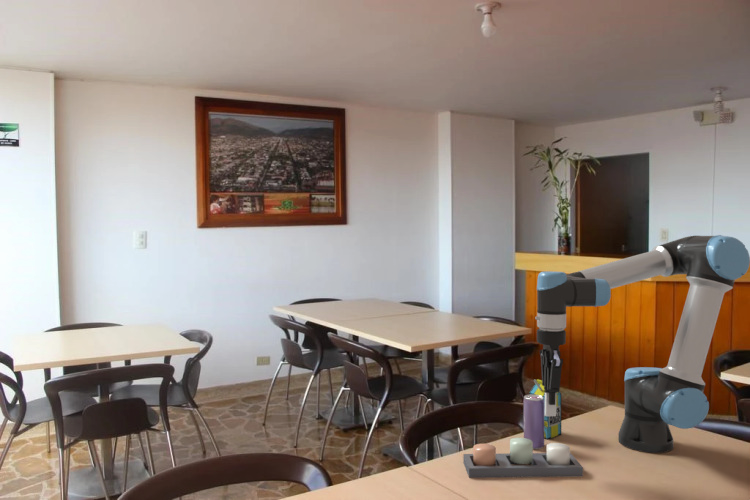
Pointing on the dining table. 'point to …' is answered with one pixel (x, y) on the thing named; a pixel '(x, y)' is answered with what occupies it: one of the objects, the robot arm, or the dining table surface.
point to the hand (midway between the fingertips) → (550, 415)
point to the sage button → (521, 450)
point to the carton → (550, 422)
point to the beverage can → (534, 420)
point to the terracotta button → (484, 455)
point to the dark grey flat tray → (522, 468)
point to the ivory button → (558, 454)
